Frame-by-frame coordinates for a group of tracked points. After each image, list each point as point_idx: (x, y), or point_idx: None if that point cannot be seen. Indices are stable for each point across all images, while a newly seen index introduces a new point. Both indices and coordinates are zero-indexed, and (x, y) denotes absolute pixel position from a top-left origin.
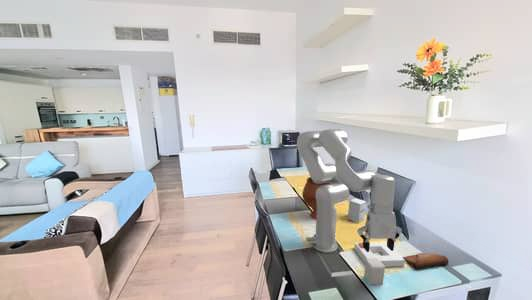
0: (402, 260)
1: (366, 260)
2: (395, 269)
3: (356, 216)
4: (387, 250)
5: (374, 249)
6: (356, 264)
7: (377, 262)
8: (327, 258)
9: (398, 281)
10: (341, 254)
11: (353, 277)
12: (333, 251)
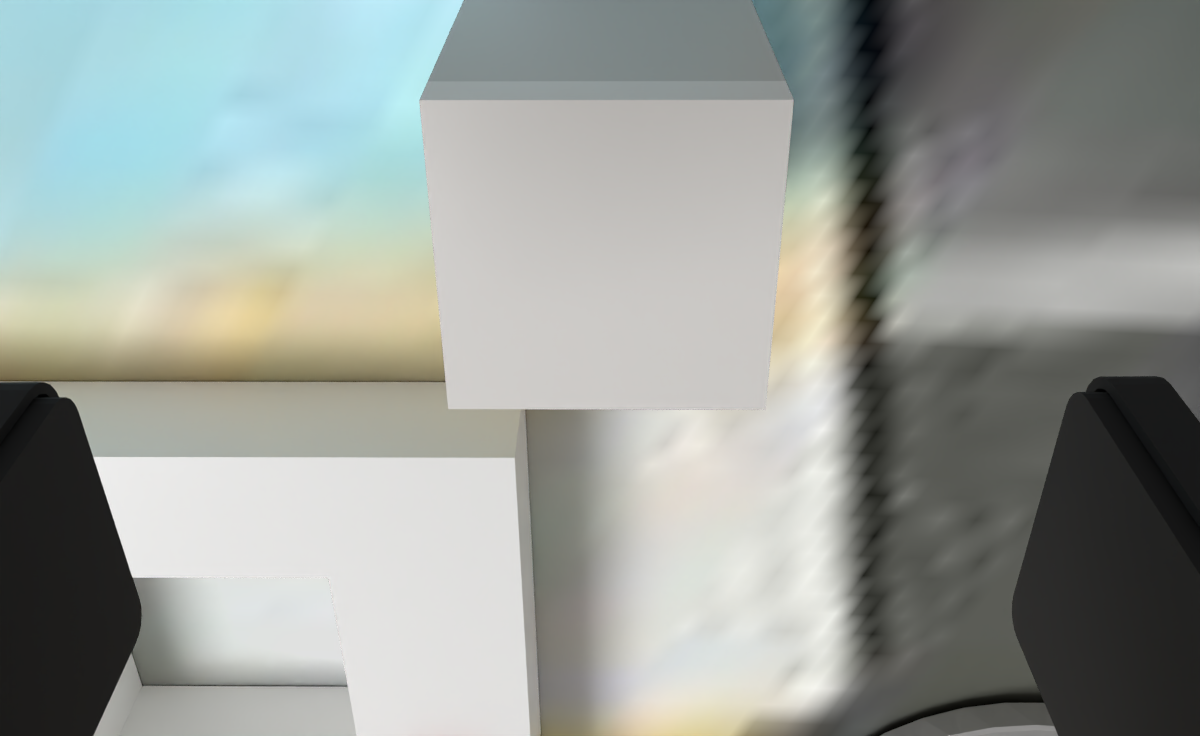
0: None
1: (766, 362)
2: (49, 318)
3: None
4: None
5: (235, 723)
6: (707, 458)
7: (540, 264)
8: None
9: (122, 25)
10: (830, 663)
11: (958, 172)
12: (941, 719)
